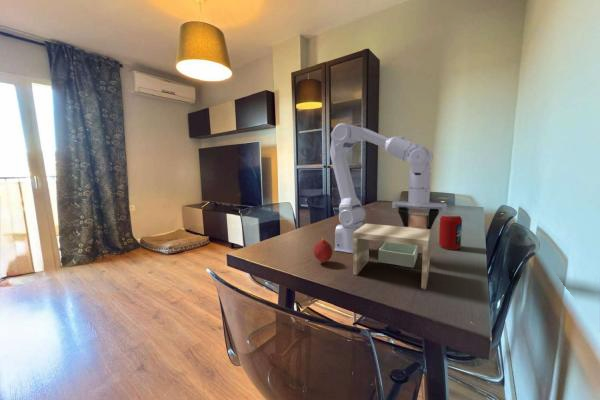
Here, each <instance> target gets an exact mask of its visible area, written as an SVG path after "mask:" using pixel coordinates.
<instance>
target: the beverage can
mask: <svg viewBox="0 0 600 400" xmlns="http://www.w3.org/2000/svg"><path fill="white" fill-rule="evenodd" d="M462 227H463V219H462V217H461V215H460V214H457V213H452V212H451V213H450V212H449V213H448V212H445V213H442V215H441V216H440V219H439V231H438V233H439V234H438V245H439V246H440V247H441V248H443V249H445V250H457V249H459V248H461V244H462V232H463V231H462V230H463V228H462Z"/></svg>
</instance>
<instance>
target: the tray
mask: <svg viewBox="0 0 600 400" xmlns="http://www.w3.org/2000/svg"><path fill="white" fill-rule="evenodd" d="M381 245H382V246H381V247H379V249H378V254H377V255H378V257H377V258H378V263H382V264H388V265H389V264H390V265H395V266H400V267H407V268H414V267H415V265H416V261H417V260H418V250H419V248H418V247H419V246H416V245H408V244H400V243H392V242H383V244H381Z"/></svg>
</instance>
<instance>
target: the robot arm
mask: <svg viewBox="0 0 600 400" xmlns="http://www.w3.org/2000/svg"><path fill="white" fill-rule="evenodd" d="M330 138H331V142H330V149H329V156H330V159H331V164H332V169H333V172H334V176H335V181H336V184H337V188H338V192H339V193H338V194H339V196H340V202H339V206H338V211H339V214H338V220H339V222H340V224H337V225H336V227H335V231H334V249H333V250H334V251H336V252H342V253H349V254H353V232H355V231H356V230H357V229H359V228H360V227H362V226H363V225H364V223H363V221H365V220H366V217H367V212H366V209H365V208H364V207H363V205H362V203H361V201H360V199H359V198H358V197H357V195H356V190H355V187H354V183H353V178H352V174H351V171H350V165H349V162H348V159H347V158H348V157H347V154H348V152H349V150H350V149H352V148H353V146H355V145H356V144H357V143H358V142H363V141H364V142H368V143H370V144H371V143H372V144H374V145H376V146H379V147H381V148H384V150H385V153H386V154H387V155H390V156H392V157H393V158H396V159H398V160H401V161H402V162H404V163H405V162H407V164H409V173H408V197H407V199H408V200H406V201H404V200H403V201H401V200H399V201H397V200H394V201H392V203H391V204H392V209H398V210H397V212H398V214H399V216H400V219H401V222H402V225H403V227H408V214H409V209H411V210H428V215H429V217H428V229H431V230H432V229H433V225H434V223H435V220H436V219H437V217H438V215H439V214H440V213H439V212H440V211H441V212H447V207H448V206H447V205H448V204H447V203H441V202H431V201H430V198H431V197H430V195H431V193H430V191H431V178H432V177H431V175H432V173H431V167H432V166H431V163H432V161H433V158H434V154H433V152H432V151H431V149H429V148H427V147H426V146H420V143H418V142H412V141H409V140H406V139H405V137H404V136H402V135H398V136H396V135H395V136H392V137H387V136H384V135H382V134H381V133H380V134H379V133H377V132H376V131H373V130H371V129H369V128H365V127H363V126H357V125H353V124H347V123H344V122H341V123H337V124H336V125H335V127H333V130H332V131H331V133H330Z"/></svg>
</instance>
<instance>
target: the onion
mask: <svg viewBox="0 0 600 400" xmlns="http://www.w3.org/2000/svg"><path fill="white" fill-rule="evenodd" d="M313 255H314V257H315V259H317V261H318V262H320V263H322V264H325V263H326V262H328V261H330V259H331V258H332V256H333V247H332V245H331V244H330V243H329V242H328V241H327V240H325V238H323V237H322V238H320V241H318V242H317V243H316V244H315V245H314V248H313Z"/></svg>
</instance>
